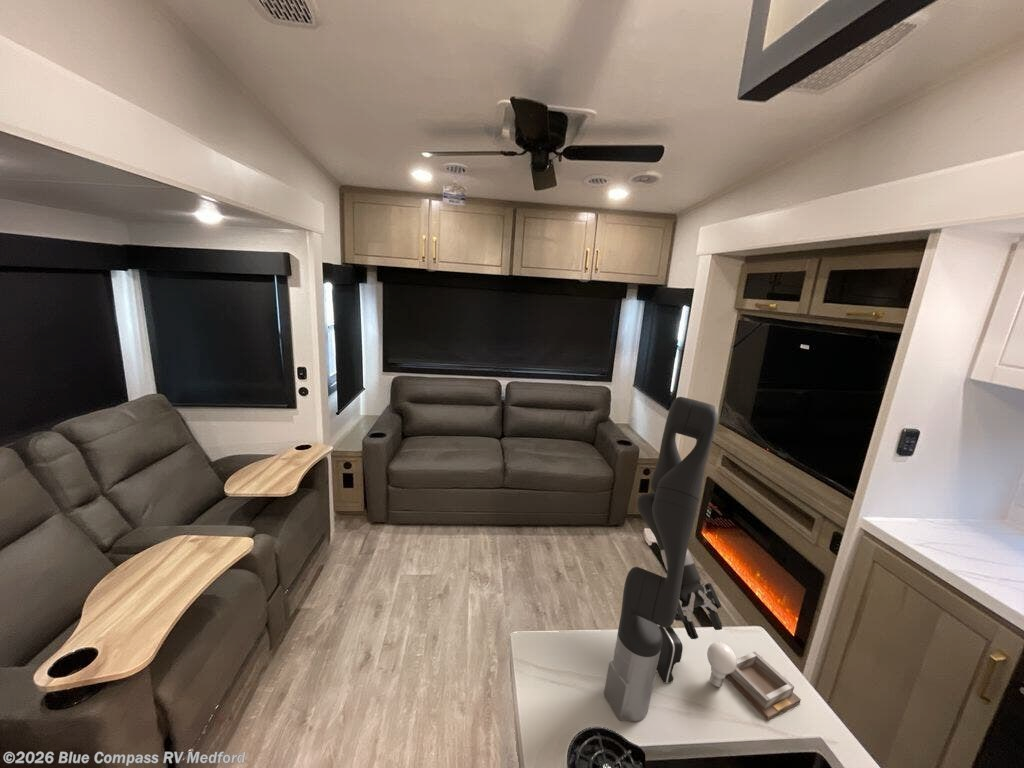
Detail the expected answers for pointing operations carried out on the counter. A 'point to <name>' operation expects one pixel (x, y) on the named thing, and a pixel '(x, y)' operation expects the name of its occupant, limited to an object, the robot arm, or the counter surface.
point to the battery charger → (669, 653)
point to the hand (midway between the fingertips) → (706, 634)
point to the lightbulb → (720, 662)
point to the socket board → (763, 686)
